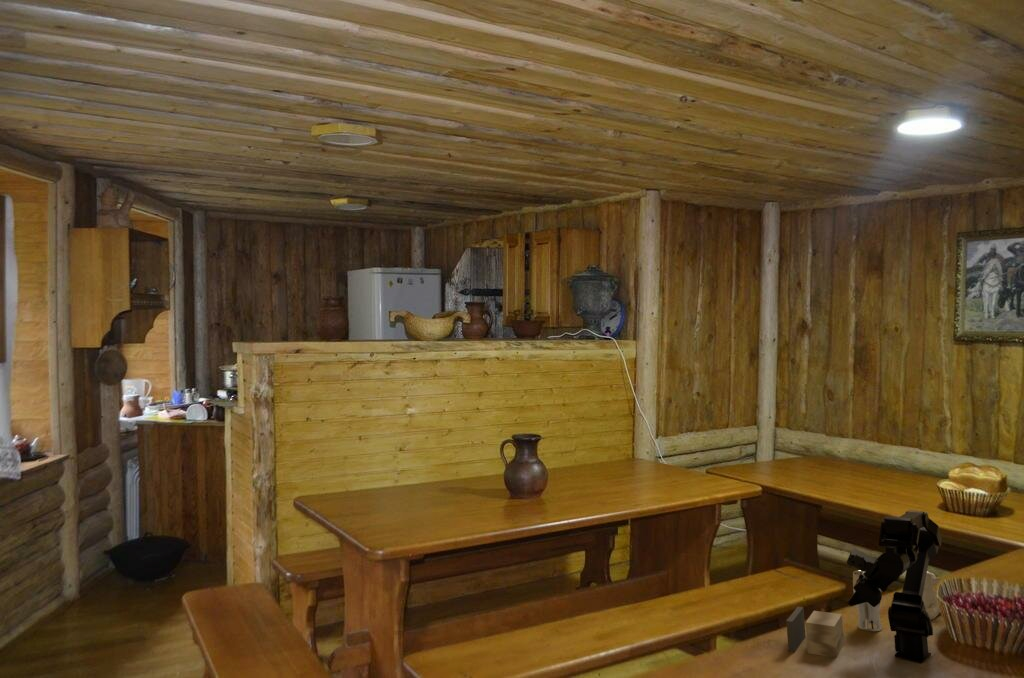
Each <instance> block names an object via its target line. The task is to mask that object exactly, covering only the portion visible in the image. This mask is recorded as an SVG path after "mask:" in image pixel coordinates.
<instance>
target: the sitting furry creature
mask: <svg viewBox="0 0 1024 678" xmlns="http://www.w3.org/2000/svg"><path fill="white" fill-rule="evenodd" d="M940 579H941V578H940V577H937V576H936V575H935V574H934V573H933V572H930V571H928V570H927V574H926V579H925V585H924V591H923V596H922V600H923V602H924V605H925V609H926V612H927V613H928V615H929V618H930V620H931V621H932V620H935V619H936V617H937V616H938V615H939V614H940V613H941V611H940V608H939V604H938V602H937V597H938V592H937V591H936V589H935V588H934V587H935V586H936V584H938V583H939V582H940ZM936 595H937V597H936Z"/></svg>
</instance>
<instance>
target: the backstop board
mask: <svg viewBox="0 0 1024 678" xmlns="http://www.w3.org/2000/svg"><path fill="white" fill-rule="evenodd" d="M804 610H805V609H804V607H803V606H796V608H795V610H793V612H792V613H791V614H790V616H789V617H788V618H787V619H786V621H785V622H786V623H785V624H786V634H787V635H786V636H787V648H788V649H787V650H788V653H793V654H794V653H796V651H797V650H798V648H799V647H800V646H801V644H802V643H803V641H804V640H805V638H807V636H806V621H805V611H804Z"/></svg>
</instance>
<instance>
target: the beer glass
mask: <svg viewBox="0 0 1024 678" xmlns="http://www.w3.org/2000/svg"><path fill="white" fill-rule="evenodd" d="M863 573H864V571H861V570H859V569H857V570H854V571H853V572H852V590H853V593H854V592H855V590H854V588H853V587H854V585H855V584H856V581H857V579H859V576H860V574H862V575H863ZM863 576H864V575H863ZM879 590H880V591H881V592H882V590H881V589H880V588H879ZM881 602H882V600H881V601H880V603H879V604H878V605H877V606H876V607H873V606H871V605H870V604H869V603H868V602H866V603H862V604H858V605H856V608H857V612H858V618H857V619H858V620H857V621H858V622H857V628H858V629H859V630H862V631H864V632H871V633H872V632H876V633H877V632H880V631H882V630H883V626H882V623H881V617H880V610H881Z"/></svg>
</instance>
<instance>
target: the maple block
mask: <svg viewBox="0 0 1024 678" xmlns="http://www.w3.org/2000/svg"><path fill="white" fill-rule="evenodd" d="M805 634H806V646H807V647H806V648H807V654H810V655H812V654H813V655H816V656H822V657H830V658H836V659H837V658H838V657H839V655H840V653H841V651H842V650H843V647H844V645H845V641H844V639H845V638H844V625H843V615H842V613H835V612H826V611H821V610H820V611H819V610H813V611H812V612H811V614H810V615H809V617H808V618H807V620H806V621H805Z"/></svg>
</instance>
